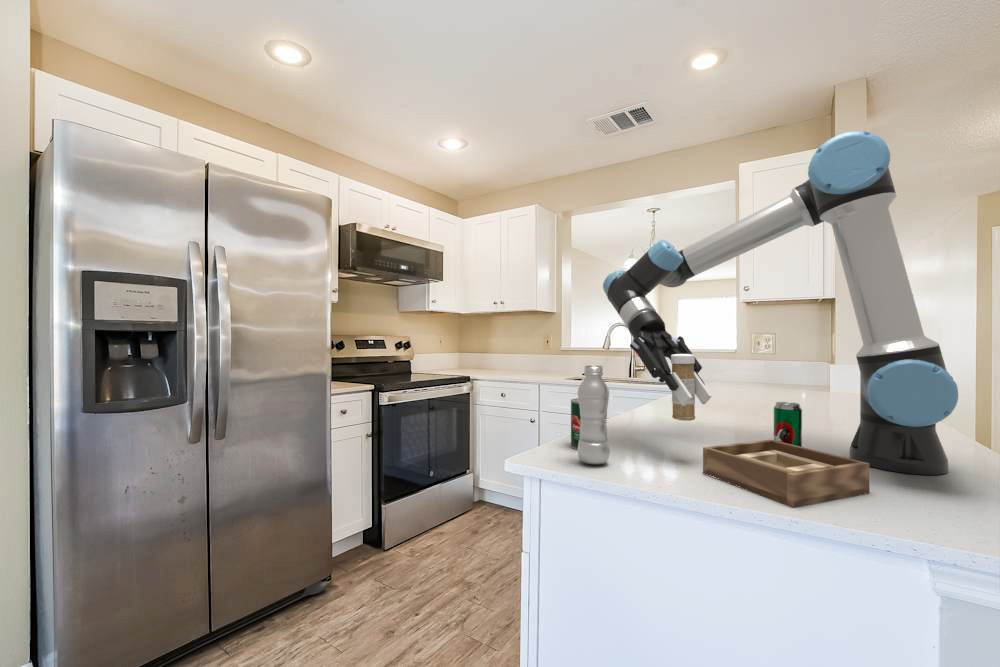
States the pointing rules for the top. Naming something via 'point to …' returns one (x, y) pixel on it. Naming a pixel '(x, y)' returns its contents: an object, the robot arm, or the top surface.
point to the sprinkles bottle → (685, 372)
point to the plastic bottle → (593, 417)
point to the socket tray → (787, 471)
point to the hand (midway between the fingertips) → (697, 400)
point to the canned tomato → (575, 423)
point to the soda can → (788, 423)
